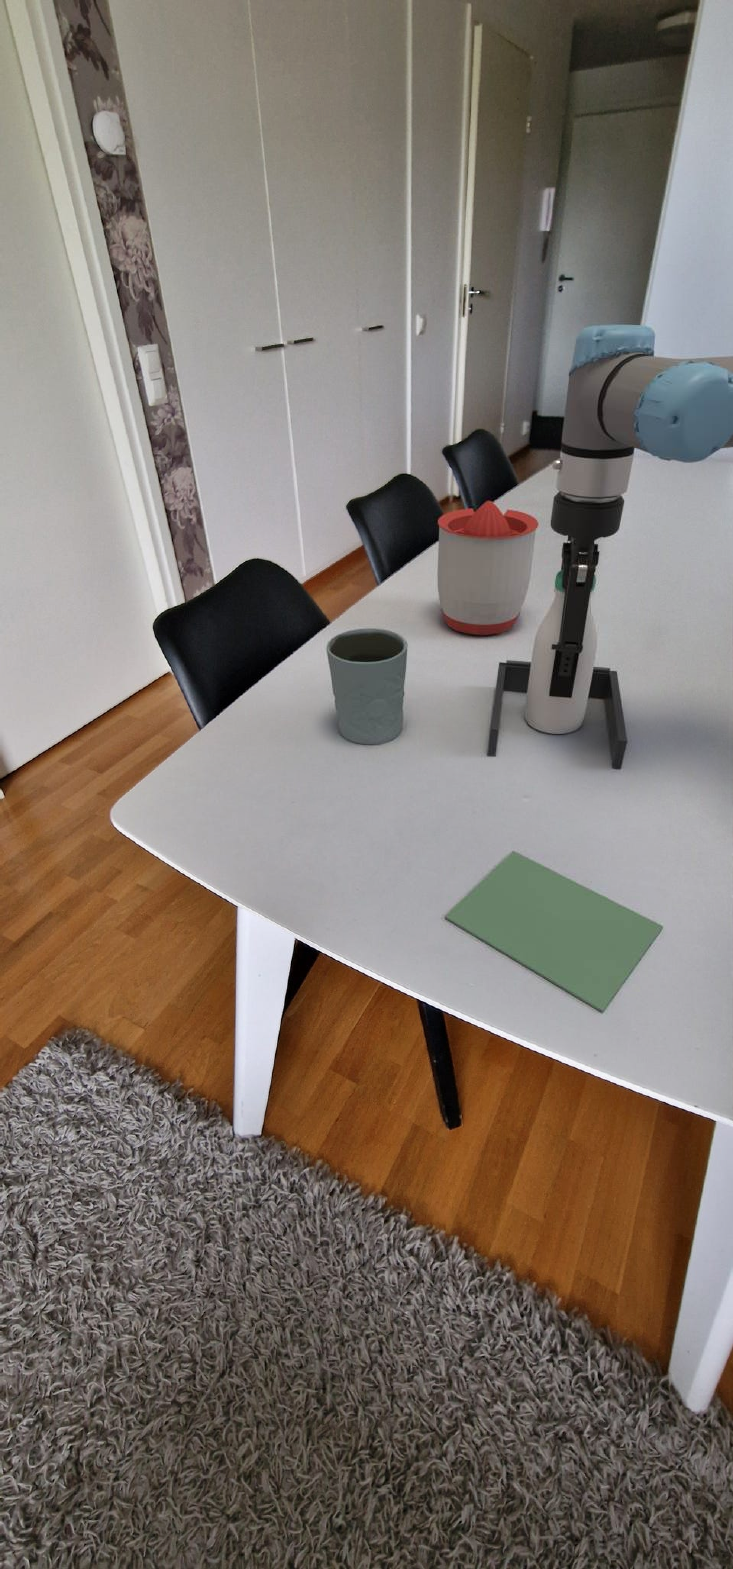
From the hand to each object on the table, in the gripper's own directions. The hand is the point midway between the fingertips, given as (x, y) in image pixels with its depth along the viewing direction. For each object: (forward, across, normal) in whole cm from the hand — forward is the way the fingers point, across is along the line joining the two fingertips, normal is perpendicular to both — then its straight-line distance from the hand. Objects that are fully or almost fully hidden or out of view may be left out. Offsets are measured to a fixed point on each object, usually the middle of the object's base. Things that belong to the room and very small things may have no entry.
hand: (560, 677), depth 90 cm
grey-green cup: (+7, +6, -24) cm, 26 cm away
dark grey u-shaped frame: (+6, +1, 0) cm, 6 cm away
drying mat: (+6, +37, 0) cm, 37 cm away
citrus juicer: (+7, -31, -12) cm, 34 cm away
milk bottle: (+7, 0, 0) cm, 7 cm away
